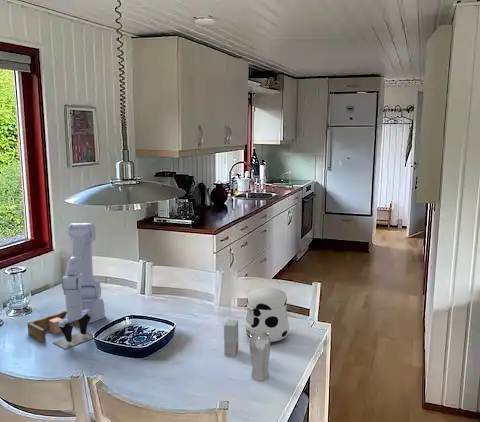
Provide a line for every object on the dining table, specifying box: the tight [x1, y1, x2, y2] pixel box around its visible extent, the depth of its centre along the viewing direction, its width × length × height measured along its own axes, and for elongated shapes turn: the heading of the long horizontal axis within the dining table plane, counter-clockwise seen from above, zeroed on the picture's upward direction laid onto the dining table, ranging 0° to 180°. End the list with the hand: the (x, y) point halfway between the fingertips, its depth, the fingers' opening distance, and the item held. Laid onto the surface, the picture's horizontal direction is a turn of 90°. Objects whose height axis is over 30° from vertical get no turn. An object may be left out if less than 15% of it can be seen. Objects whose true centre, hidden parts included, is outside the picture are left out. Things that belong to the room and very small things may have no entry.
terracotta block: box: [49, 317, 63, 335], centre depth 203 cm, size 4×4×5 cm
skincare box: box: [223, 318, 239, 358], centre depth 181 cm, size 6×4×12 cm
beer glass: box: [249, 331, 271, 382], centre depth 163 cm, size 7×7×15 cm
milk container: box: [244, 287, 290, 344], centre depth 193 cm, size 17×17×18 cm
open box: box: [26, 310, 94, 350], centre depth 199 cm, size 18×24×5 cm
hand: (76, 337), depth 194 cm, fingers open, 7 cm apart
